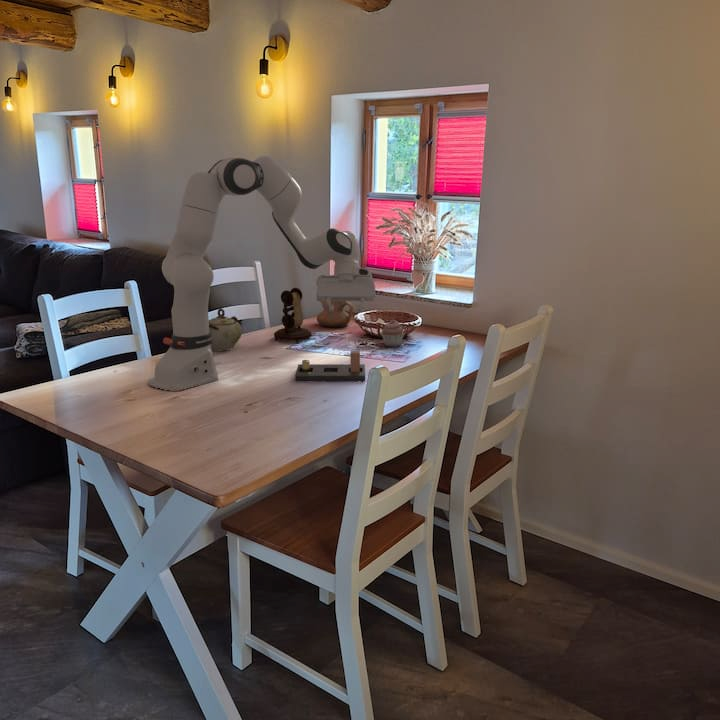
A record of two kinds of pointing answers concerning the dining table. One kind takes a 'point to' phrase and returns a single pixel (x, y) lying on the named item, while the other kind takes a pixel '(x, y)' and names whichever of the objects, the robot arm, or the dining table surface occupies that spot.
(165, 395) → the dining table surface
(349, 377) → the grey peg board
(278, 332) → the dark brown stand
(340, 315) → the ceramic jug
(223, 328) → the olive green rounded pot
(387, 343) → the cupcake
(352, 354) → the terracotta peg
